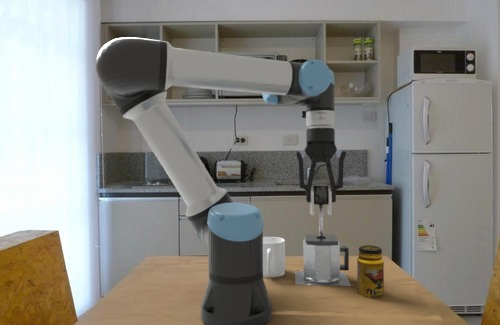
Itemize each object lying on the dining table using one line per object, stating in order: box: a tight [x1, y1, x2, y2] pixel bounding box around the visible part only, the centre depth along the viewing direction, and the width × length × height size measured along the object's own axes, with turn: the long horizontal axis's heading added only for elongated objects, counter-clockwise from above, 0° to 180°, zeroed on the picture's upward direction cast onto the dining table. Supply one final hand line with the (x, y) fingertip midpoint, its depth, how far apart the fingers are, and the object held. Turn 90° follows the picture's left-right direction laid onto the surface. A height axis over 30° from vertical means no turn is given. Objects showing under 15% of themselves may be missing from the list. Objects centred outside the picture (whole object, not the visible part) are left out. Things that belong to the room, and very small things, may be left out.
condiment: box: [356, 244, 385, 299], centre depth 89 cm, size 7×8×12 cm
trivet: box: [294, 270, 352, 287], centre depth 100 cm, size 14×11×1 cm
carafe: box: [302, 233, 350, 284], centre depth 100 cm, size 12×10×11 cm
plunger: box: [312, 184, 329, 239], centre depth 99 cm, size 7×7×19 cm
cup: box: [263, 236, 286, 278], centre depth 103 cm, size 8×12×10 cm
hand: (321, 214), depth 99 cm, fingers closed on plunger, 4 cm apart
